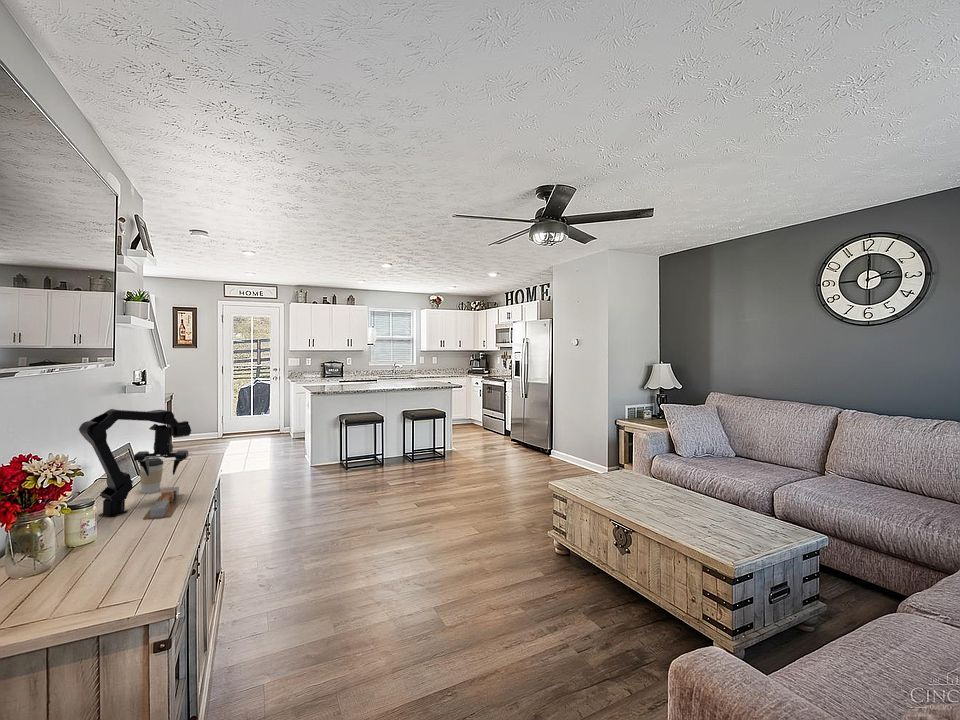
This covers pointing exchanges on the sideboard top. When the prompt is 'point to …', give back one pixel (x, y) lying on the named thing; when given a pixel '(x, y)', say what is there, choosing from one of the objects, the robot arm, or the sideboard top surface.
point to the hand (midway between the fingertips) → (161, 475)
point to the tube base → (164, 506)
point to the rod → (167, 495)
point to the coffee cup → (151, 476)
